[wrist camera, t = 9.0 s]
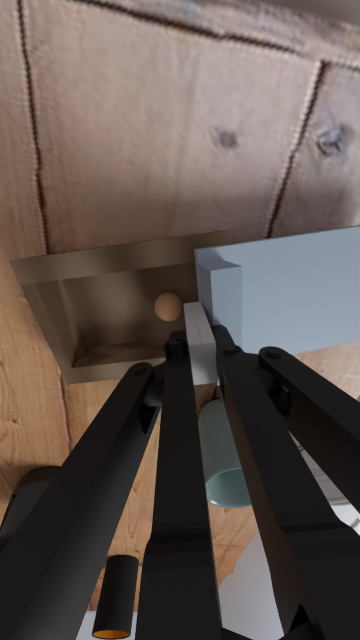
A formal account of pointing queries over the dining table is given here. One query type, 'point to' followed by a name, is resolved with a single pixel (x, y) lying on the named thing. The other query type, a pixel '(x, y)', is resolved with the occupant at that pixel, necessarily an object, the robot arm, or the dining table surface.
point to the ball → (168, 306)
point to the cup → (221, 458)
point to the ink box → (332, 493)
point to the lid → (284, 290)
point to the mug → (116, 598)
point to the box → (111, 301)
